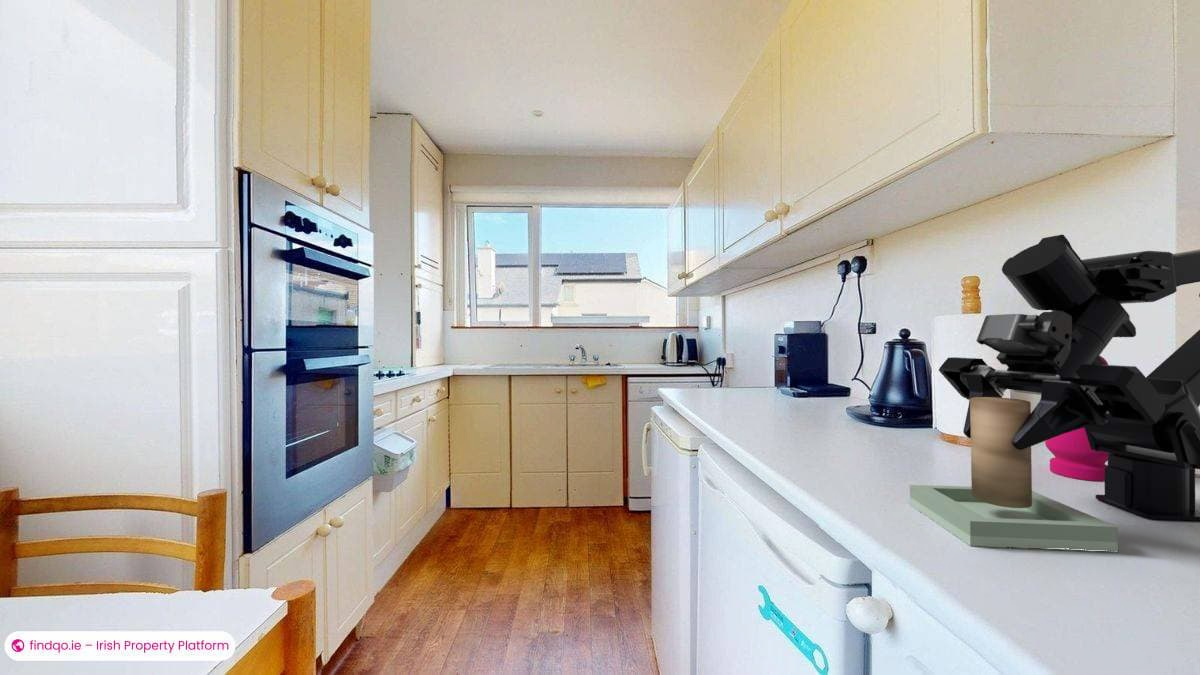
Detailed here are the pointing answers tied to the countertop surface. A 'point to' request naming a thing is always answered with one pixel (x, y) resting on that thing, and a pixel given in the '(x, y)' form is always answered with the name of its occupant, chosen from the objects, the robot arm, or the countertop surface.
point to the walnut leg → (999, 452)
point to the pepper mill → (1077, 455)
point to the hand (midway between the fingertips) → (990, 440)
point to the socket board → (1012, 521)
